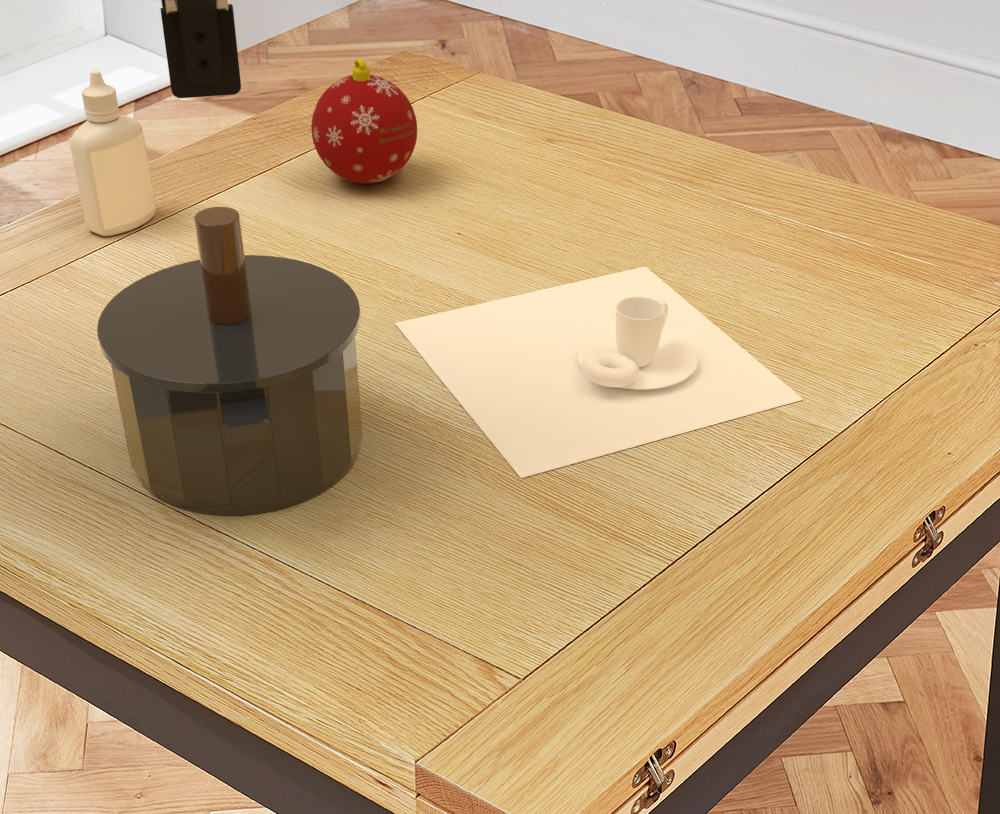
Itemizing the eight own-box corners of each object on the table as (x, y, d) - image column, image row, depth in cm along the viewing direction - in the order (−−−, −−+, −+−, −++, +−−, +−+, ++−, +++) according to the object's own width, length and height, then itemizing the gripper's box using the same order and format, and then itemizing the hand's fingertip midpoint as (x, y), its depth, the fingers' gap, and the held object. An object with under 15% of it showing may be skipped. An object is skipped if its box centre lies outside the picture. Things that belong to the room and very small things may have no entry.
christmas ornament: (340, 209, 108) (331, 86, 102) (300, 170, 114) (289, 52, 108) (436, 187, 111) (433, 67, 105) (392, 151, 117) (386, 35, 111)
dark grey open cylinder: (135, 561, 73) (108, 431, 68) (130, 378, 88) (107, 260, 83) (384, 525, 75) (376, 397, 70) (338, 354, 90) (329, 237, 85)
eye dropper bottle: (163, 228, 105) (139, 76, 98) (90, 240, 103) (59, 87, 96) (153, 206, 108) (128, 57, 101) (81, 217, 107) (51, 67, 99)
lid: (100, 418, 70) (74, 294, 65) (100, 286, 81) (78, 173, 77) (380, 384, 72) (372, 263, 68) (342, 261, 84) (333, 150, 79)
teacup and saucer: (602, 410, 85) (605, 354, 82) (545, 350, 90) (546, 296, 88) (720, 378, 88) (727, 323, 85) (658, 322, 93) (662, 269, 91)
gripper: (65, -364, 63) (122, 10, 73) (54, -320, 49) (125, 130, 60) (228, -365, 64) (262, 2, 75) (260, -322, 51) (295, 118, 61)
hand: (201, 59), depth 67 cm, fingers open, 9 cm apart
